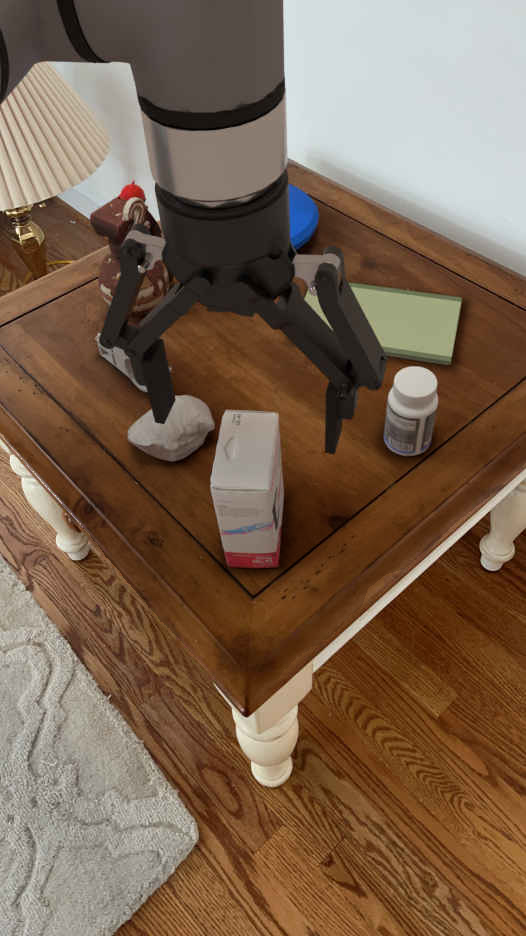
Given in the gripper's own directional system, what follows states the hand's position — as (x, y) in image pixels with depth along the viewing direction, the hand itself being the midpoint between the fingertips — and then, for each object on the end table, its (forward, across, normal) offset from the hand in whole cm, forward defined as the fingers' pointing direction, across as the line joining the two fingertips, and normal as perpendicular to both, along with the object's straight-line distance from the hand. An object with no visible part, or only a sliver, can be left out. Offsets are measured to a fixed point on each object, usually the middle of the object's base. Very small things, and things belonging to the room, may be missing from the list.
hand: (247, 425), depth 58 cm
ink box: (+15, 0, 0) cm, 15 cm away
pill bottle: (+15, -12, -14) cm, 24 cm away
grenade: (+15, +22, -28) cm, 39 cm away
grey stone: (+15, +12, -9) cm, 21 cm away
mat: (+15, -6, -31) cm, 35 cm away
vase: (+15, +12, -44) cm, 48 cm away
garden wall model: (+15, +18, -16) cm, 28 cm away
